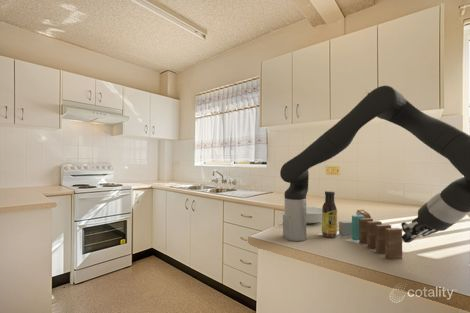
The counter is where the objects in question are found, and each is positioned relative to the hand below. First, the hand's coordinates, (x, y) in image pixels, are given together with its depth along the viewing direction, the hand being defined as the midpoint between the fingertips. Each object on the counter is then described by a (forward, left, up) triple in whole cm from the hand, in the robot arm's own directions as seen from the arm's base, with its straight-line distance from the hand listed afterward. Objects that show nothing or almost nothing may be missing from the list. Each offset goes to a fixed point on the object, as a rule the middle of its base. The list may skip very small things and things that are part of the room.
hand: (405, 239), depth 74 cm
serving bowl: (-5, +54, -8) cm, 55 cm away
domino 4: (+1, +9, -8) cm, 12 cm away
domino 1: (+2, +23, -8) cm, 24 cm away
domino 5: (+1, +5, -8) cm, 9 cm away
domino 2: (+2, +18, -8) cm, 20 cm away
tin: (+17, +37, -8) cm, 41 cm away
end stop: (+3, +29, -8) cm, 30 cm away
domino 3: (+1, +14, -8) cm, 16 cm away
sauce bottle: (-7, +30, -8) cm, 32 cm away
